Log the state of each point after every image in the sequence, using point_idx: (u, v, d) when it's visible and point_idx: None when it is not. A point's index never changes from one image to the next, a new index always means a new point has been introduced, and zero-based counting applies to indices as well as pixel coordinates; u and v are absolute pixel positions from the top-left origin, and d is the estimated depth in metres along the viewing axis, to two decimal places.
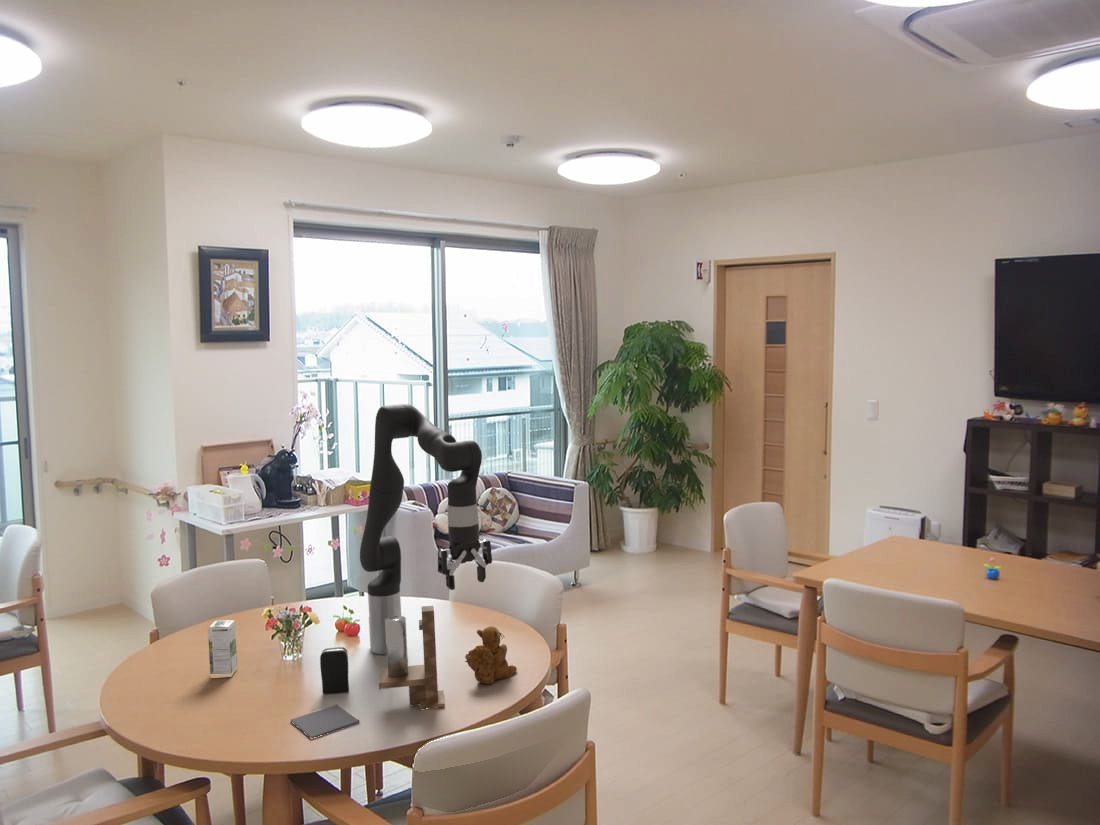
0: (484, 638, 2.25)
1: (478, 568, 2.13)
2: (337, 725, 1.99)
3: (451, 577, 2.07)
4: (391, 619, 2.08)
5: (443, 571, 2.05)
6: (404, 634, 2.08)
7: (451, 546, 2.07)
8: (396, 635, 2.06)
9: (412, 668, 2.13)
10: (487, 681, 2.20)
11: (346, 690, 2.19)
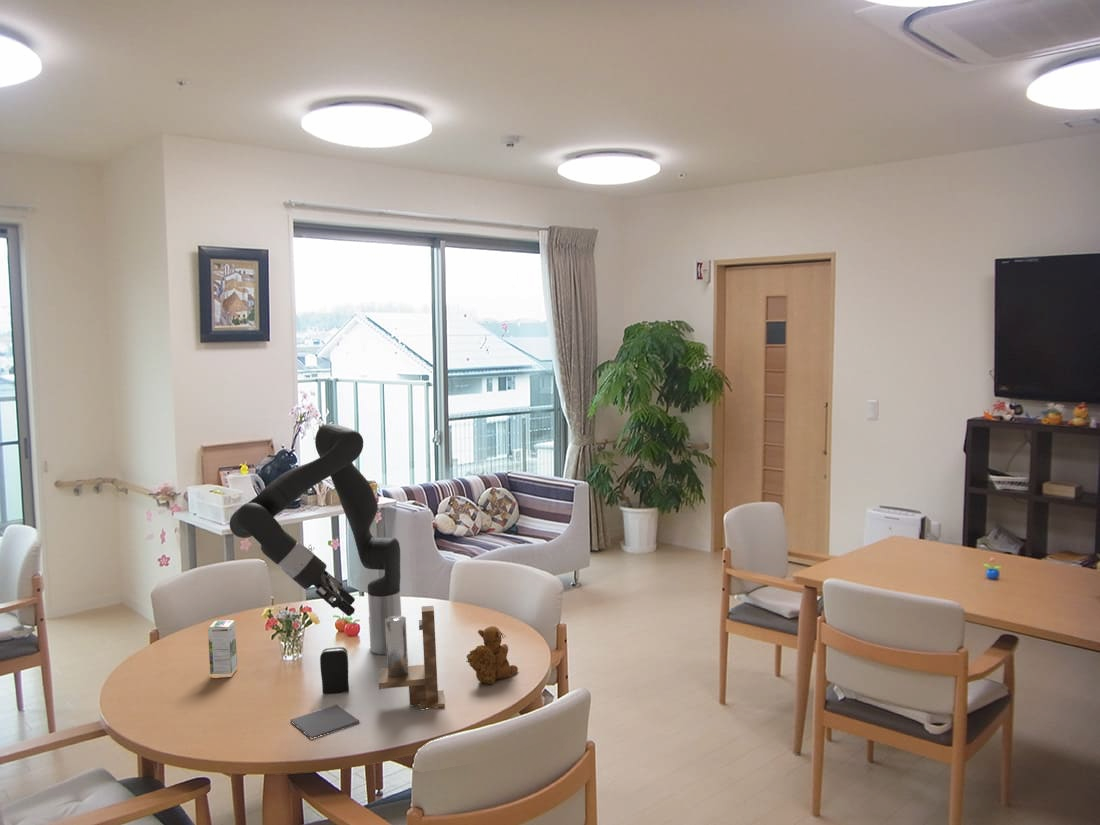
0: (485, 638, 2.25)
1: None
2: (337, 725, 1.99)
3: None
4: (391, 619, 2.08)
5: None
6: (404, 634, 2.08)
7: None
8: (396, 634, 2.06)
9: (412, 668, 2.13)
10: (488, 681, 2.20)
11: (346, 690, 2.19)
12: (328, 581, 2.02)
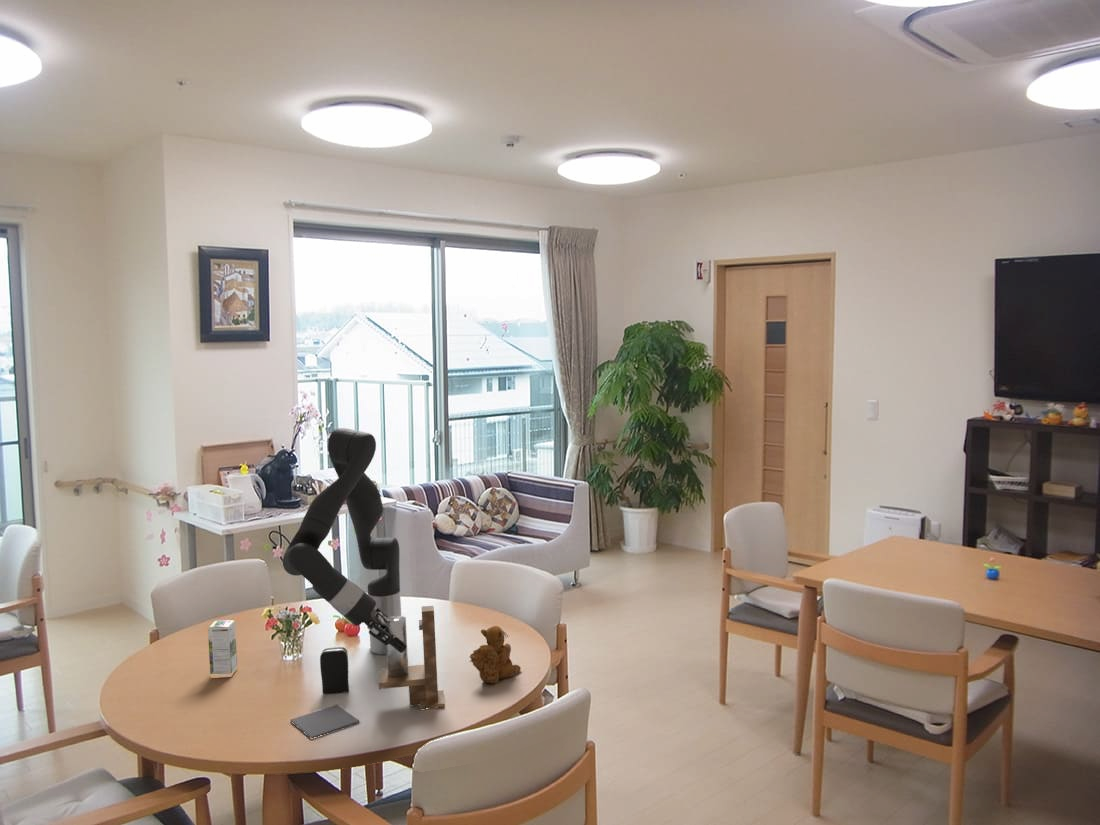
0: (488, 637, 2.25)
1: None
2: (337, 725, 1.99)
3: None
4: (391, 619, 2.08)
5: None
6: (404, 634, 2.08)
7: None
8: (396, 635, 2.06)
9: (412, 668, 2.13)
10: (492, 680, 2.20)
11: (346, 690, 2.19)
12: (378, 618, 2.06)
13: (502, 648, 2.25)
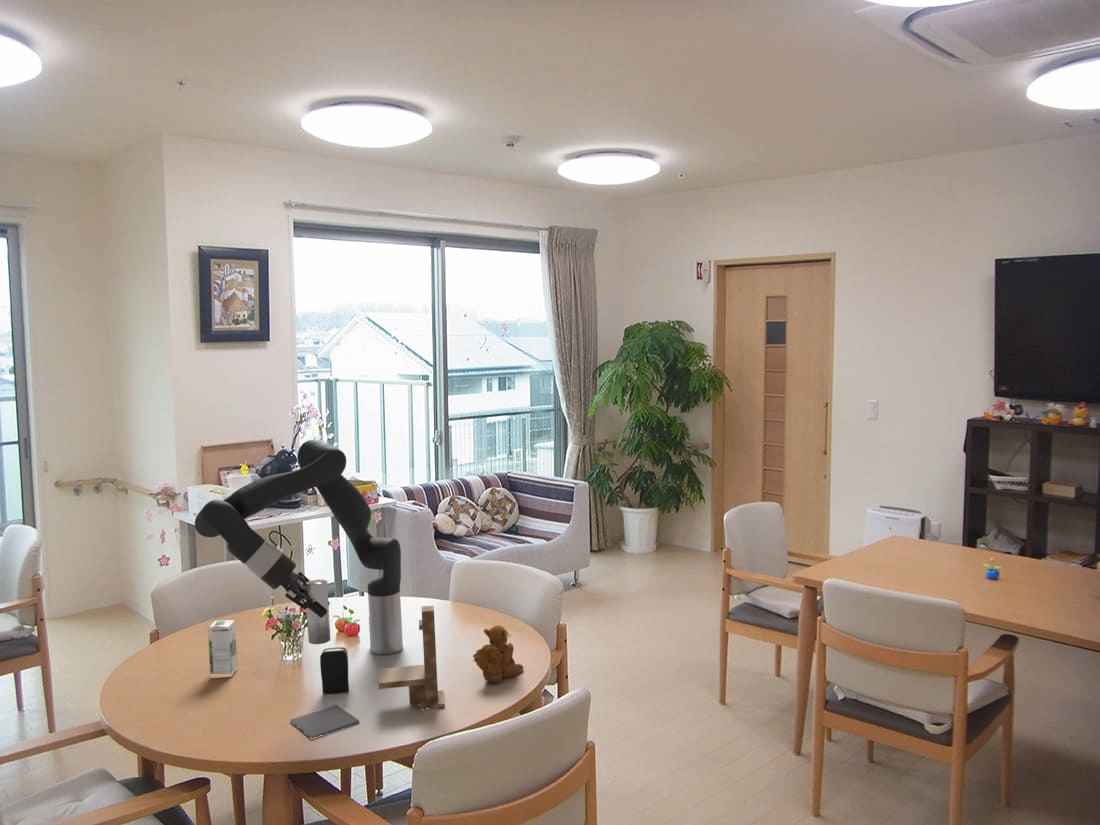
0: (491, 637, 2.25)
1: None
2: (337, 725, 1.99)
3: None
4: (312, 583, 1.99)
5: None
6: (325, 598, 1.98)
7: None
8: (316, 599, 1.97)
9: (412, 668, 2.13)
10: (496, 680, 2.20)
11: (346, 690, 2.19)
12: (297, 582, 1.96)
13: (505, 647, 2.25)
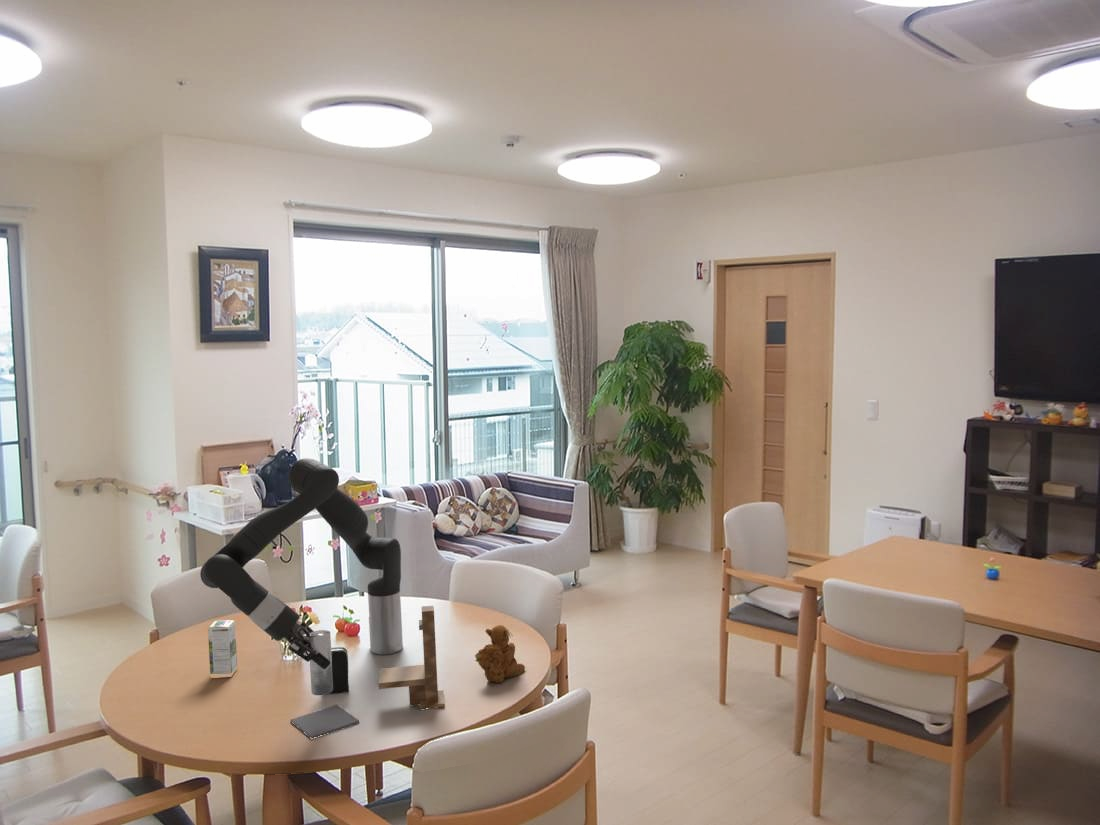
0: (493, 637, 2.25)
1: None
2: (337, 725, 1.99)
3: None
4: (315, 634, 2.00)
5: None
6: (328, 649, 1.99)
7: None
8: (319, 650, 1.98)
9: (412, 668, 2.13)
10: (498, 680, 2.20)
11: (346, 690, 2.19)
12: (301, 633, 1.97)
13: (507, 647, 2.26)
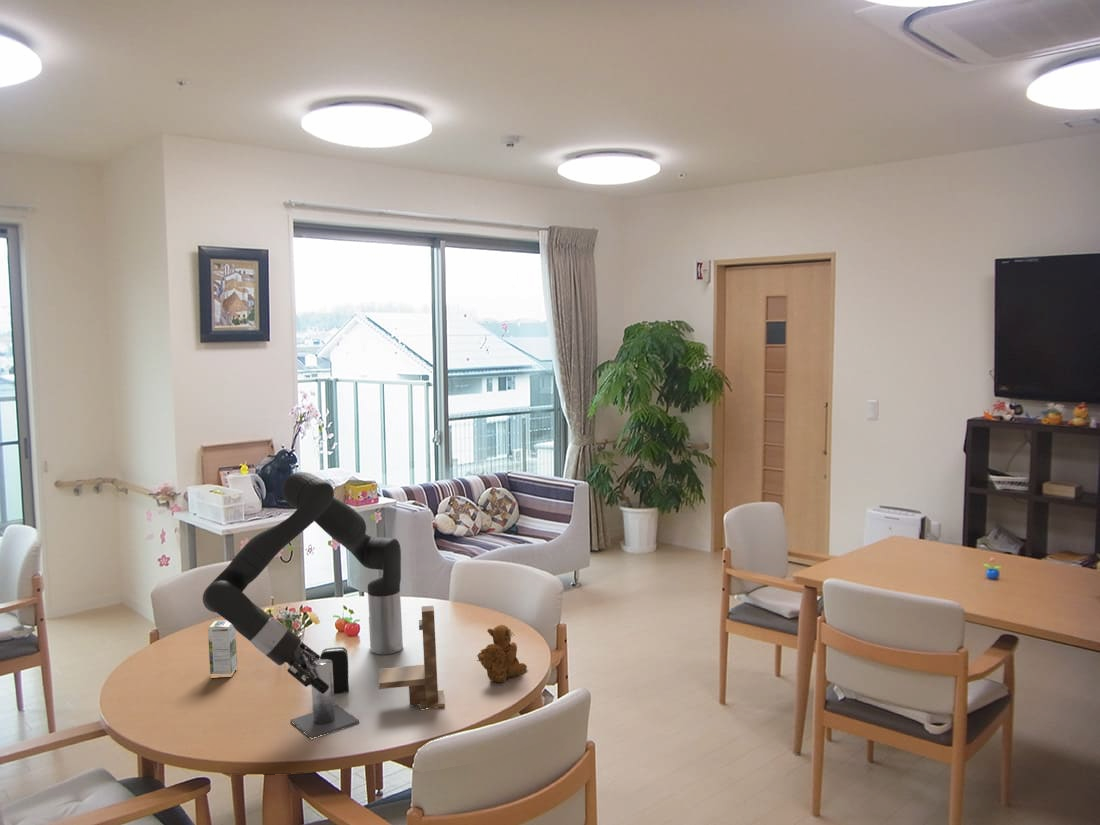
0: (495, 637, 2.25)
1: None
2: (337, 725, 1.99)
3: None
4: (317, 663, 2.01)
5: None
6: (330, 679, 2.00)
7: None
8: None
9: (412, 668, 2.13)
10: (500, 679, 2.20)
11: (346, 690, 2.19)
12: (302, 657, 1.98)
13: (509, 647, 2.26)
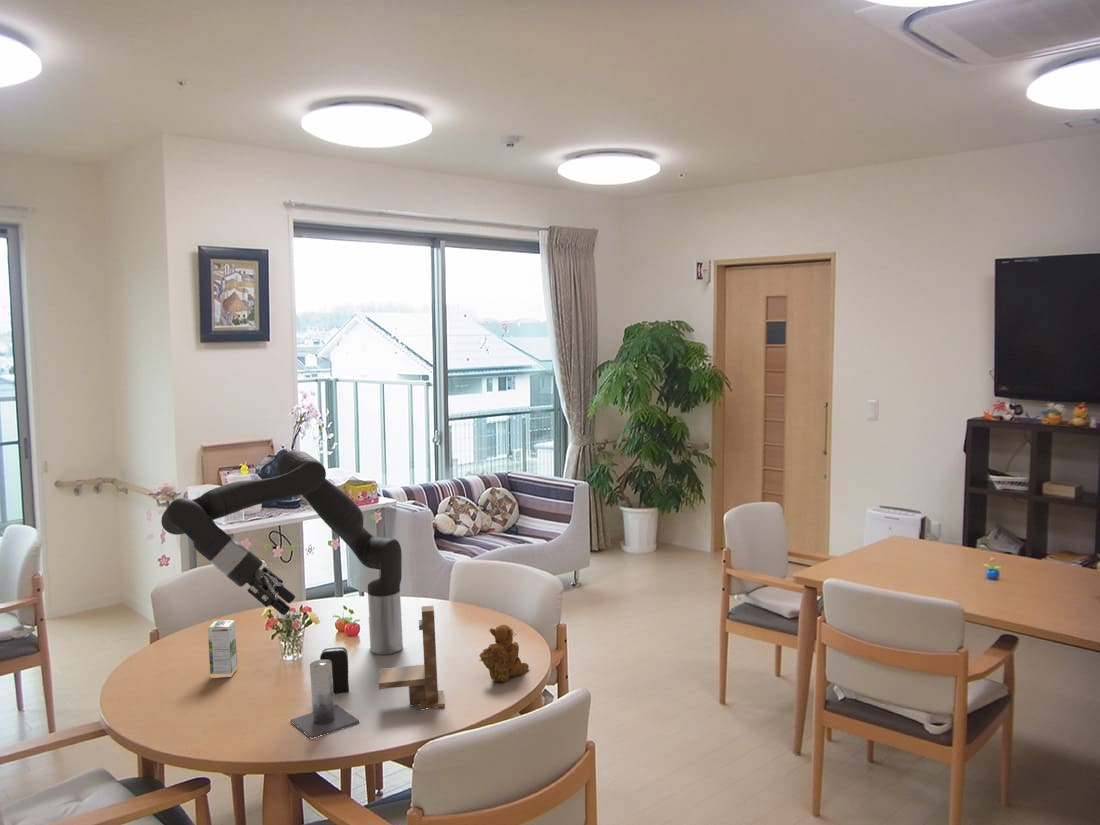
0: (497, 636, 2.26)
1: None
2: (337, 725, 1.99)
3: None
4: (316, 664, 2.00)
5: None
6: (330, 679, 2.00)
7: None
8: (320, 680, 1.99)
9: (412, 668, 2.13)
10: (503, 679, 2.21)
11: (346, 690, 2.19)
12: (263, 579, 1.97)
13: (511, 646, 2.26)
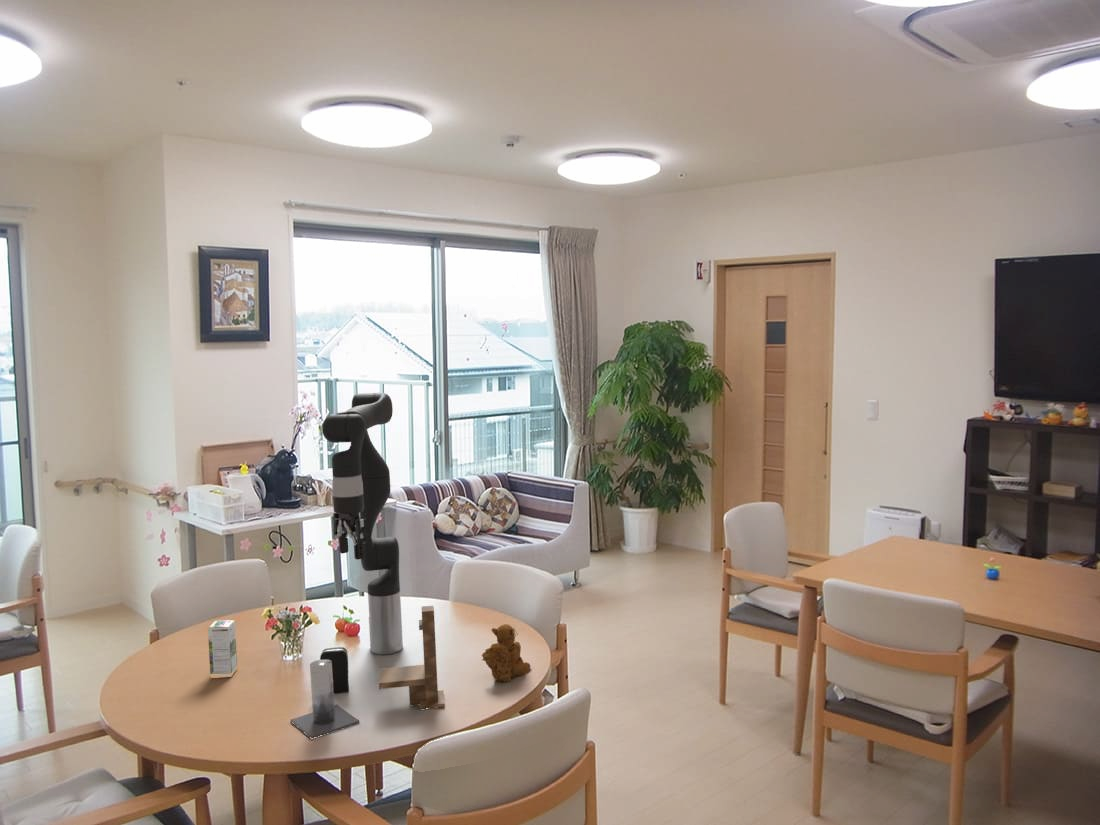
0: (499, 636, 2.26)
1: None
2: (337, 725, 1.99)
3: None
4: (316, 664, 2.00)
5: (334, 531, 2.19)
6: (330, 679, 2.00)
7: None
8: (321, 680, 1.99)
9: (412, 668, 2.13)
10: (505, 678, 2.21)
11: (346, 690, 2.19)
12: None
13: (513, 646, 2.26)
